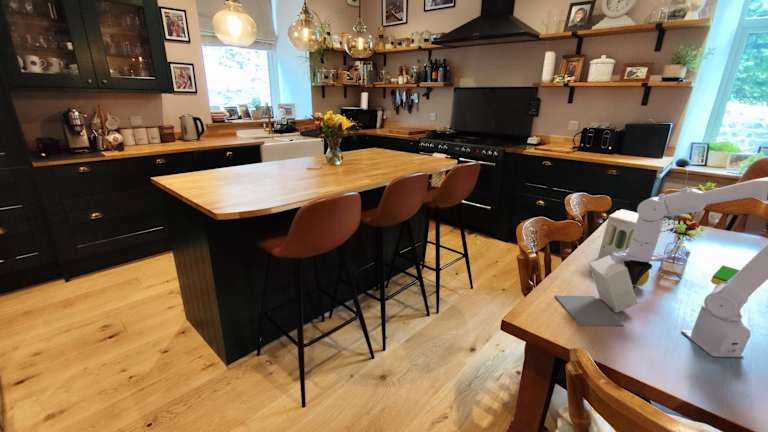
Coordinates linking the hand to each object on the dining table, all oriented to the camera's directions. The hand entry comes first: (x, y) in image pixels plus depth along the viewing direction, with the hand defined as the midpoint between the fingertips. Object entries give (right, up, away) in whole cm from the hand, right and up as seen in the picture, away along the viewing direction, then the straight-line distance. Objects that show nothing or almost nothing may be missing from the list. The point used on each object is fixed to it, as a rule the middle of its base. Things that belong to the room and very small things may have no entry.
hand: (630, 283), depth 103 cm
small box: (-2, -5, +2) cm, 6 cm away
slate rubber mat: (-13, -8, -1) cm, 15 cm away
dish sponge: (+47, -3, +20) cm, 52 cm away
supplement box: (+18, +3, +31) cm, 36 cm away
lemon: (+11, -3, +13) cm, 17 cm away
